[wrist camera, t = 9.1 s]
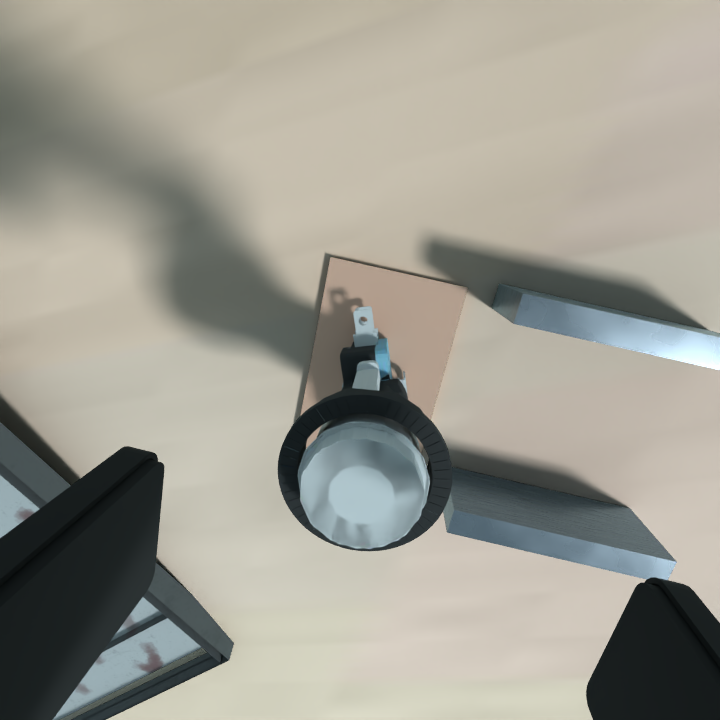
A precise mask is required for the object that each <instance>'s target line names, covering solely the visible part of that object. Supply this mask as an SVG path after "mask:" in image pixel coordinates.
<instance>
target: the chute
mask: <svg viewBox="0 0 720 720" xmlns="http://www.w3.org/2000/svg"><path fill="white" fill-rule="evenodd" d="M492 309H494V310H495V311H496V312H498V313H499V314H501V315H502V316H503V317H505V318H506V319H508V320H509V321H510V322H512V323H513V324H517V325H522V326H526V327H531V328H535V329H539V330H544V331H548V332H553V333H557V334H562V335H566V336H571V337H575V338H579V339H584V340H588V341H593V342H597V343H602V344H606V345H610V346H615V347H619V348H624V349H628V350H633V351H637V352H642V353H646V354H650V355H655V356H659V357H664V358H668V359H673V360H677V361H681V362H686V363H690V364H695V365H699V366H704V367H708V368H713V369H717V370H720V333H717V332H713V331H710V330H705V329H701V328H696V327H692V326H688V325H683V324H679V323H674V322H670V321H665V320H661V319H656V318H652V317H647V316H643V315H638V314H634V313H629V312H625V311H620V310H616V309H612V308H607V307H603V306H598V305H594V304H589V303H585V302H580V301H576V300H571V299H567V298H562V297H558V296H553V295H549V294H544V293H540V292H536V291H531V290H527V289H522V288H518V287H513V286H509V285H504V284H500V283H499V285H498V289H497V292H496V295H495V299H494V302H493V305H492ZM443 513H444V518H445V524H446V530H447V533H452V534H456V535H460V536H464V537H469V538H473V539H477V540H481V541H486V542H490V543H494V544H499V545H503V546H507V547H511V548H516V549H520V550H524V551H528V552H533V553H537V554H541V555H545V556H550V557H554V558H558V559H562V560H567V561H571V562H575V563H579V564H584V565H588V566H592V567H596V568H601V569H605V570H609V571H613V572H618V573H622V574H626V575H630V576H635V577H639V578H643V579H649V578H650V577H656V578H660V579H664V580H668V578H669V576H670V574H671V573H672V571H673V569H674V567H675V565H676V563H677V562H676V561H675V559H674V558H673V557H672V556H671V555H670V554H669V553H668V551H667V550H666V549H665V548H664V547H663V546H662V545H661V543H660V542H659V541H658V540H657V539H656V538H655V537H654V535H653V534H652V533H651V532H650V531H649V530H648V528H647V527H646V526H645V525H644V524H643V523H642V522H641V520H640V519H639V518H638V517H637V516H636V515H635V514H634V512H633V511H632V510H631V509H630V508H627V507H623V506H618V505H614V504H610V503H605V502H601V501H597V500H592V499H588V498H584V497H580V496H575V495H571V494H567V493H562V492H558V491H554V490H549V489H545V488H541V487H536V486H532V485H528V484H524V483H519V482H515V481H511V480H506V479H502V478H498V477H493V476H489V475H485V474H480V473H476V472H472V471H467V470H463V469H459V468H455V467H452V487H451V492H450V496H449V499H448V502H447V504H446V506H445V508H444V510H443Z"/></svg>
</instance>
